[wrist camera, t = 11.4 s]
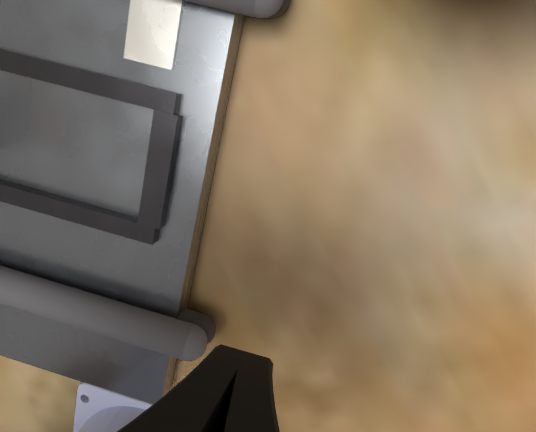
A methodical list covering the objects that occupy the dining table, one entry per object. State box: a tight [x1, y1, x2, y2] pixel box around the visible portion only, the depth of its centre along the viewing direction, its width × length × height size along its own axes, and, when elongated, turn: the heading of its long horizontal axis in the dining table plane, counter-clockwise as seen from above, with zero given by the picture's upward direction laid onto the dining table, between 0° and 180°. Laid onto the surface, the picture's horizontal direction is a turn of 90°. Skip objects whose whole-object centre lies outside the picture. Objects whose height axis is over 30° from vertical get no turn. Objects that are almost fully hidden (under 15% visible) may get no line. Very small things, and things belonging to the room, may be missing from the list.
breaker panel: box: [0, 0, 245, 404], centre depth 18 cm, size 24×16×2 cm, turn 166°
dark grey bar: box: [0, 266, 215, 361], centre depth 19 cm, size 2×20×3 cm, turn 76°
